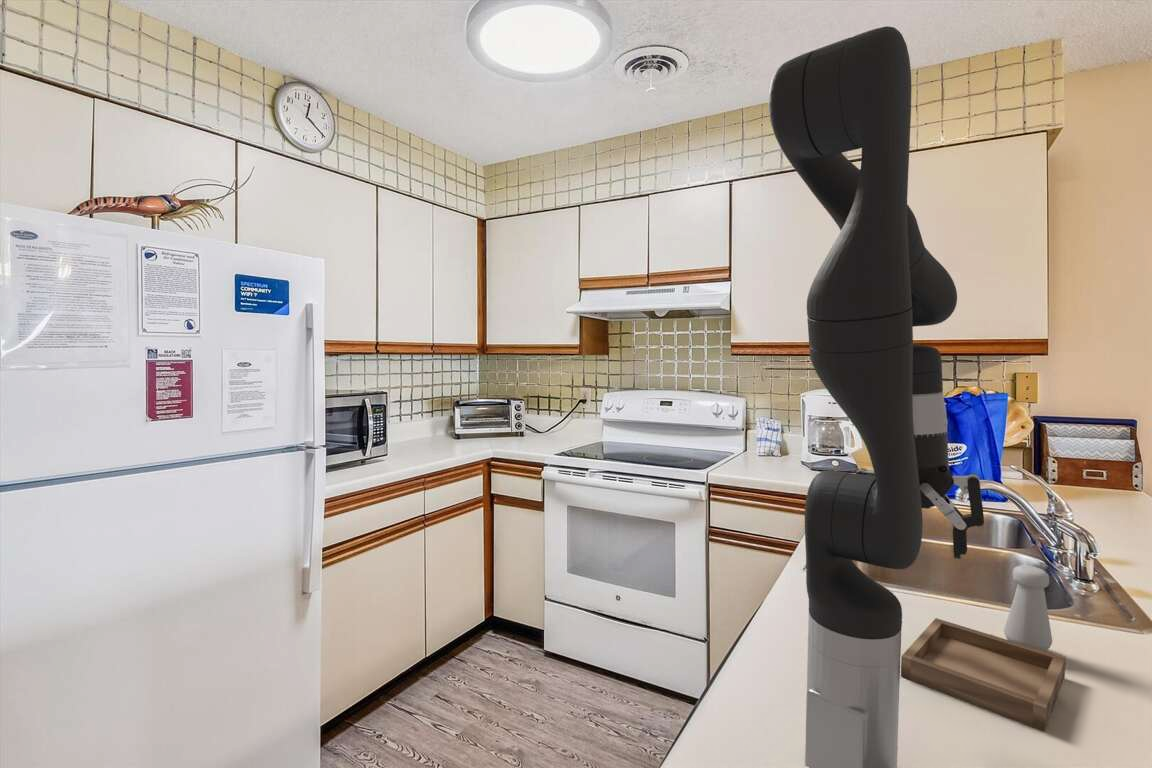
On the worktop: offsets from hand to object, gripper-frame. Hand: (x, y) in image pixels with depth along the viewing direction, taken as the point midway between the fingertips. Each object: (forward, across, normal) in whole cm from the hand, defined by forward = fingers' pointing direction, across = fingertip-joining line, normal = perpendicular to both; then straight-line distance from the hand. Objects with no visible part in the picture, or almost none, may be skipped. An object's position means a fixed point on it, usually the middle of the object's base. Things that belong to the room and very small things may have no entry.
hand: (918, 552), depth 74 cm
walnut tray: (+21, +6, +12) cm, 25 cm away
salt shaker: (+22, +12, +24) cm, 34 cm away
